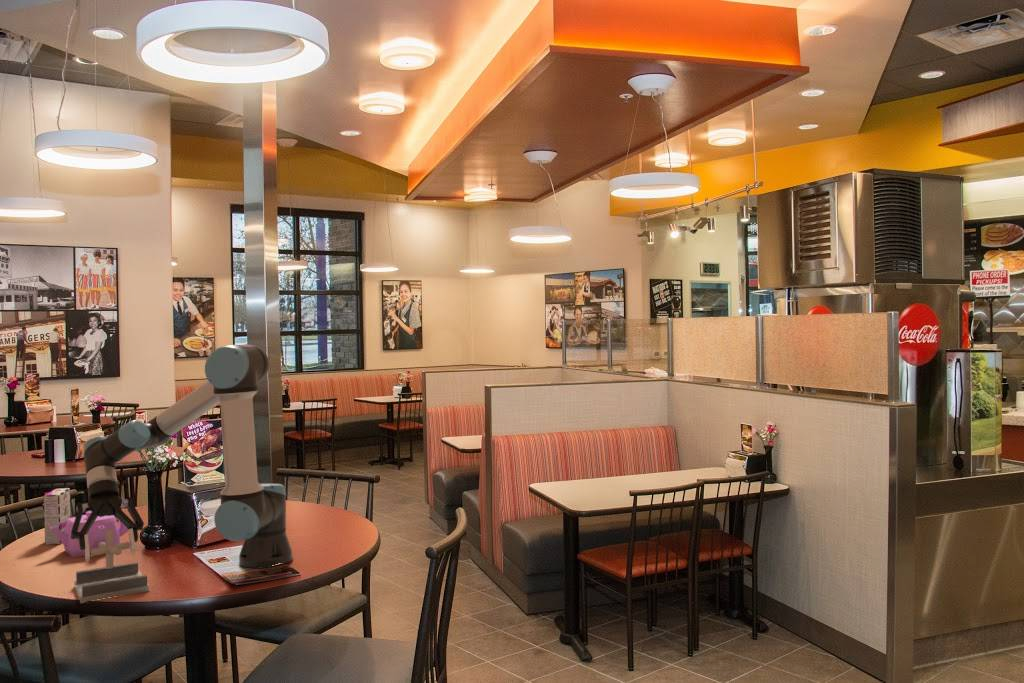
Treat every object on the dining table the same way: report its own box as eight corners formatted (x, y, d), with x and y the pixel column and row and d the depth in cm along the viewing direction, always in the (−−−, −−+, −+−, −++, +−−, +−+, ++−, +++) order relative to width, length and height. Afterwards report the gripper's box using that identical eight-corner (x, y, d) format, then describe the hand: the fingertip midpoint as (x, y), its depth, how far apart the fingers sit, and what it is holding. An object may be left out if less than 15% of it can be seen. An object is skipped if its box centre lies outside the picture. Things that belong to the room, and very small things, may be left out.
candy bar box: (55, 536, 261) (54, 488, 260) (71, 535, 262) (70, 487, 262) (43, 545, 250) (42, 495, 250) (60, 544, 251) (59, 494, 251)
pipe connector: (120, 559, 213) (120, 523, 213) (137, 566, 206) (136, 529, 206) (81, 568, 205) (81, 531, 205) (98, 575, 199) (97, 537, 199)
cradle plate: (139, 575, 217) (139, 561, 217) (149, 591, 204) (149, 575, 204) (74, 586, 208) (73, 572, 208) (80, 603, 195) (80, 587, 195)
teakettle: (132, 543, 252) (131, 505, 252) (103, 558, 235) (102, 517, 235) (81, 543, 253) (80, 505, 253) (48, 558, 236) (47, 517, 236)
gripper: (145, 489, 225) (155, 555, 212) (55, 499, 212) (60, 570, 199) (148, 474, 220) (159, 540, 207) (56, 482, 207) (62, 554, 195)
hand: (111, 555), depth 203 cm, fingers closed on pipe connector, 10 cm apart
